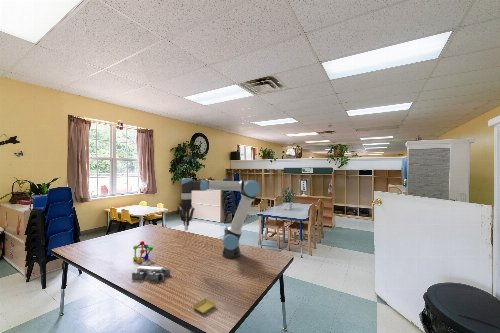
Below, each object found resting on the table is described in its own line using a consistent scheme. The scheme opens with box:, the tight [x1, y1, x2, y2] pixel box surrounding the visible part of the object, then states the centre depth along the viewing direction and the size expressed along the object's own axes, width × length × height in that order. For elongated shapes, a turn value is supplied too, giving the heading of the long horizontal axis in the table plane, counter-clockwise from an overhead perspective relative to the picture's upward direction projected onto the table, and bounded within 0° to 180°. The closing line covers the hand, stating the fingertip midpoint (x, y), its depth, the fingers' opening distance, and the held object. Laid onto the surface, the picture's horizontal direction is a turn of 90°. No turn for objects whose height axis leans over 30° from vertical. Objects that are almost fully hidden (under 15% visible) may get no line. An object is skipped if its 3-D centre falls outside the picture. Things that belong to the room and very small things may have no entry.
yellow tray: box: [192, 297, 217, 315], centre depth 110 cm, size 9×9×2 cm
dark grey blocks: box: [131, 267, 171, 282], centre depth 143 cm, size 21×10×5 cm, turn 81°
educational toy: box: [132, 240, 154, 264], centre depth 170 cm, size 16×13×15 cm
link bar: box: [136, 265, 164, 279], centre depth 143 cm, size 16×4×6 cm, turn 83°
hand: (186, 230), depth 165 cm, fingers closed
